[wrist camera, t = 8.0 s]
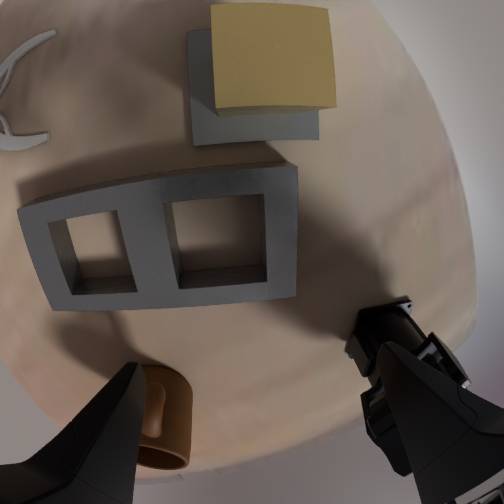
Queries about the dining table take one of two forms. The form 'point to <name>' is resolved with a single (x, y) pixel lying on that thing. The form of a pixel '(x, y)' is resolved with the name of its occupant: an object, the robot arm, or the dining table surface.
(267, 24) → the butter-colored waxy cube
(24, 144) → the pliers
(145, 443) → the mug
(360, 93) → the dining table surface
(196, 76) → the pad
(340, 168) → the dining table surface
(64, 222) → the grey flat frame
